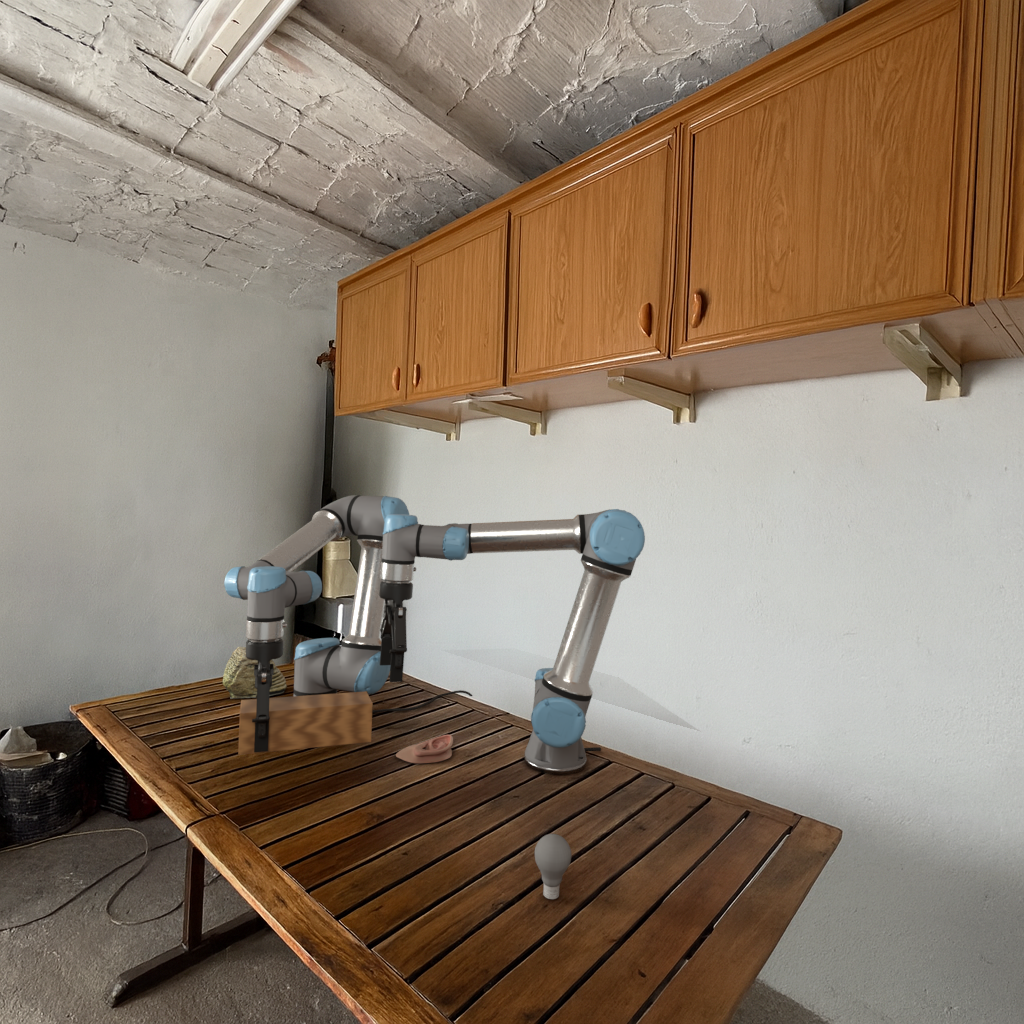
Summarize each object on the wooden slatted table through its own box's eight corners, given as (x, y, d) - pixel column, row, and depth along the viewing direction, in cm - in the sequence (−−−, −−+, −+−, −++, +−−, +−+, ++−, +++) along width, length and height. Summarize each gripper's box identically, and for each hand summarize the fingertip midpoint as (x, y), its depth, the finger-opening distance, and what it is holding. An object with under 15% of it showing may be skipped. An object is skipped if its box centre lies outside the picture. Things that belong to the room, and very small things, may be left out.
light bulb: (530, 885, 106) (533, 826, 106) (566, 885, 106) (568, 826, 106) (534, 909, 100) (537, 846, 100) (572, 908, 100) (575, 846, 100)
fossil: (218, 695, 195) (220, 647, 195) (278, 685, 208) (279, 640, 207) (228, 703, 189) (230, 653, 188) (289, 692, 201) (290, 645, 201)
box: (238, 755, 131) (239, 713, 131) (239, 739, 139) (241, 699, 139) (371, 742, 141) (372, 703, 141) (365, 727, 149) (366, 691, 149)
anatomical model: (391, 744, 153) (408, 727, 164) (390, 760, 153) (407, 743, 164) (443, 750, 150) (457, 733, 162) (443, 767, 150) (457, 749, 162)
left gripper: (284, 650, 128) (280, 760, 128) (282, 627, 148) (278, 723, 148) (244, 651, 125) (240, 764, 125) (247, 629, 145) (244, 726, 146)
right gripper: (424, 590, 135) (418, 688, 136) (402, 574, 158) (396, 658, 159) (389, 589, 132) (382, 690, 133) (372, 573, 156) (366, 659, 156)
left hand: (261, 742), depth 137 cm, fingers closed on box, 9 cm apart
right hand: (390, 673), depth 146 cm, fingers open, 13 cm apart
